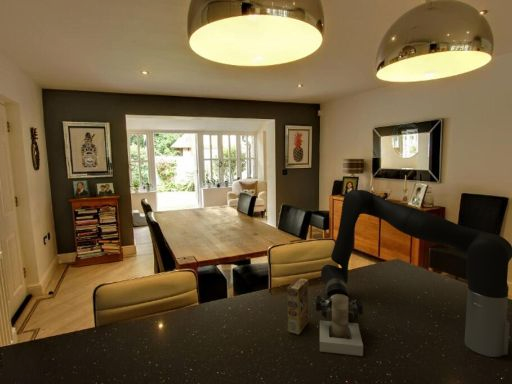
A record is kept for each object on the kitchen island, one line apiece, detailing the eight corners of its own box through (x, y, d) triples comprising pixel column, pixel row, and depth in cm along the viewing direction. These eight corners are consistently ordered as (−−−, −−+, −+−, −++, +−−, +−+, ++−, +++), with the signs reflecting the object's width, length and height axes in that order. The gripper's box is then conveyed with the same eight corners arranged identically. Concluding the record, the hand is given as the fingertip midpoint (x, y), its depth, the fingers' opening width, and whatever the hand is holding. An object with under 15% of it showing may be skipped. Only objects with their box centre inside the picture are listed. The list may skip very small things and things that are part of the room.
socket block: (357, 332, 98) (357, 323, 98) (362, 355, 86) (363, 346, 86) (319, 328, 100) (319, 320, 100) (319, 351, 89) (319, 341, 88)
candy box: (299, 335, 97) (299, 289, 95) (287, 331, 99) (286, 286, 97) (308, 322, 105) (308, 279, 103) (297, 319, 107) (297, 277, 105)
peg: (347, 337, 95) (347, 294, 94) (348, 346, 91) (349, 301, 89) (331, 335, 96) (331, 293, 95) (331, 345, 92) (332, 300, 90)
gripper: (316, 281, 108) (316, 302, 92) (358, 283, 105) (365, 306, 89) (316, 301, 108) (315, 326, 93) (358, 304, 105) (365, 330, 90)
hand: (340, 316), depth 91 cm, fingers open, 8 cm apart
